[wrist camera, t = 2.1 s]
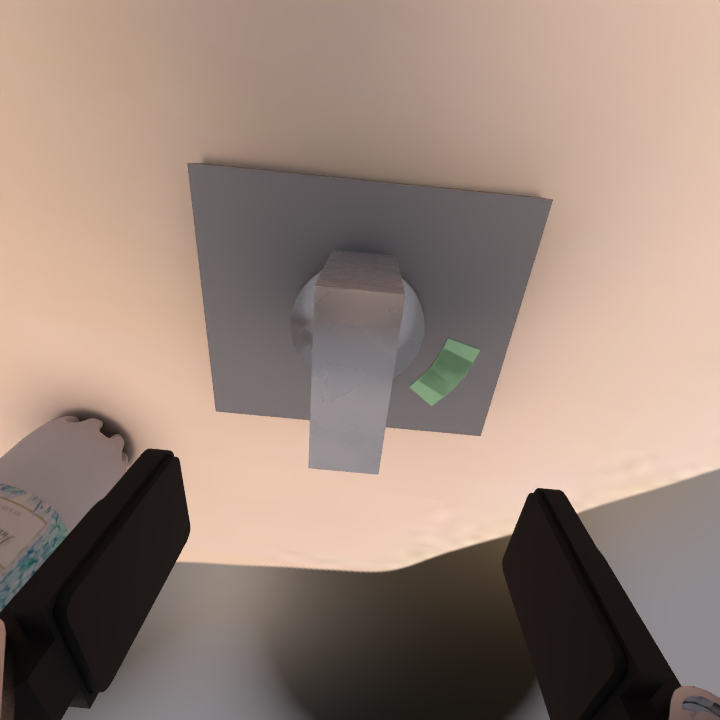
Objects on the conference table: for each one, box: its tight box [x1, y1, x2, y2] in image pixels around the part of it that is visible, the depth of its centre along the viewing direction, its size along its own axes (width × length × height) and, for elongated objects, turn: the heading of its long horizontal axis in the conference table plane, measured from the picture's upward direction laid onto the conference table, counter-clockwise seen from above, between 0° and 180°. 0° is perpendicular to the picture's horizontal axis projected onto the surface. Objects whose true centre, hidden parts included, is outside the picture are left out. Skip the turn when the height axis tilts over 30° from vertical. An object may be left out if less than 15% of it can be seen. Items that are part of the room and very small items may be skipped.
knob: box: [290, 250, 425, 474], centre depth 18 cm, size 7×10×7 cm, turn 175°
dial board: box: [188, 163, 553, 436], centre depth 21 cm, size 14×17×2 cm
